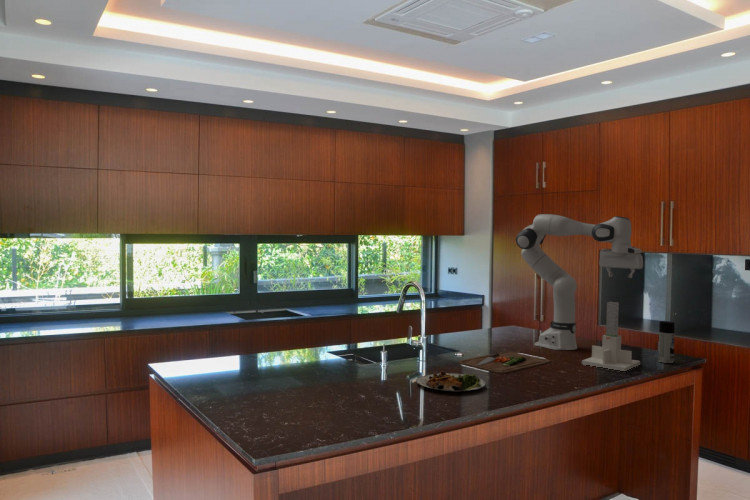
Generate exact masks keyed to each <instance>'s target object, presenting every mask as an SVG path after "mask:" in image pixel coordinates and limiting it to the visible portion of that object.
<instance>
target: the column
mask: <svg viewBox="0 0 750 500" xmlns="http://www.w3.org/2000/svg"><path fill="white" fill-rule="evenodd" d="M619 305H620V304H619V302H618V301H617V302H616V301H608V302H606V320H605V321H606V322H605V323H606V325H605V327H606V328H605V329H606V331H605V335H606V336H610V337H617V336H619V312H620V310H619V308H620V307H619Z"/></svg>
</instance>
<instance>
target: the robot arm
mask: <svg viewBox="0 0 750 500" xmlns="http://www.w3.org/2000/svg"><path fill="white" fill-rule="evenodd" d="M532 221H533V222H532V223H531V224H530V225H527V226H526V227H524V228H523V229H522V230H521V231H519V232H518V233H517V235H516V238H515V242H516V243H515V244H516V245H517V246H518V247H519V249H521V253H520V256H521V257H522V259H523V260H524V261H525V263H526V264H527V265H528V266H529V267H530V268H531V269H532V271H534V272H535V273H536V274H537V275H538V276H539V277H540V278H541V279H542V280H544V281H545V282H546V283H548V284H549V285H550V286H551V287H552V291H553V292H552V295H553V297H552V298H553V320H552V321H549V325H550V327H549V328H548V329H546V330H544V331H542V333H540V335H539V336H538V341H536V342H534V346H536V347H540V348H545V349H550V350H554V351H573V350H577V349H578V346H577V340H576V330H577V327H576V324H577V323H576V300H575V299H576V298H575V297H576V296H575V293H576V290H577V288H578V287H577V286H578V285H577V281H576V279H575V278H573V277H572V276H571V275H570V274H569V272H567V271H566V270H565V269H564V268H562V267H561V266H560V265H558V264H557V263H556V262H555V261H554V260H553V259H552V258H551V257H550V256H549V255H547V253H546V252H544V251H543V249H541V246H540V245H542V244H543V242H544V240H545V238H546V236H547V235H548V236H554V237H568V236H575V235H576V236H578V235H579V236H581V235H582V236H587V237H592V239H594V240H595V241H597V242H600V243H610V244H611V248H602V249H601V250H600V251H599V264H598V265H599V267H601V268H606V271H607V273H608V277H612V278H613V276H614V273H613V272H612V270H611V269H612V268H614V269H615V268H616V269H630V273H628V274H627V277H628V278H629V279H633V274H634V273H635V272H636V270H642V269H643V267H644V260H643V258H644V257H643V256H642V254H641V253H642V249H640V248H638V247H635V246H632V239H631V237H632V222H631V220H630V219H629V218H628V217H626V216H625V217H624V216H619V215H618V216H617V215H616V216H613V217H612V218H610V219H609V220H607V221H603V222H601V223H597V224H592V223H588V222H587V223H586V222H581V221H578V220H575V219H572V218H570V217H566V216H563V215H558V214H550V213H549V214H548V213H547V214H546V213H544V214H543V213H542V214H541V213H540V214H537V215H536V216H535V217H534V218H533V220H532Z"/></svg>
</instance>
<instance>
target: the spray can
mask: <svg viewBox="0 0 750 500" xmlns="http://www.w3.org/2000/svg"><path fill="white" fill-rule="evenodd" d="M674 360H675V322H674V321H667V320H660V321H659V329H658V362H659V363H660V362H664V363H673V362H675V361H674ZM664 363H663V364H664ZM673 364H674V363H673Z"/></svg>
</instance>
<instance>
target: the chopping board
mask: <svg viewBox="0 0 750 500" xmlns="http://www.w3.org/2000/svg"><path fill="white" fill-rule="evenodd" d="M546 363H547V364H550V363H551V360H550V359H549V358H546V357H542V356H541V357H540V356H536V355H530V354H526V353H521V352H516V351H501V352H494V353H490V354H486V355H481V356H477V357H471V358H467V359H461V360H458V364H459V365H460V366H461V367H464V368H467V369H471V370H476V371H479V372H482V373H483V372H484V373H488V374H489V373H494V374H498V375H499V374H501V375H502V374H504V375H505V374H509V373H514V372H518V371H521V370H526V369H531V368H533V367H538V365H539V366H541V365H542V364H543V365H546Z"/></svg>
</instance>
